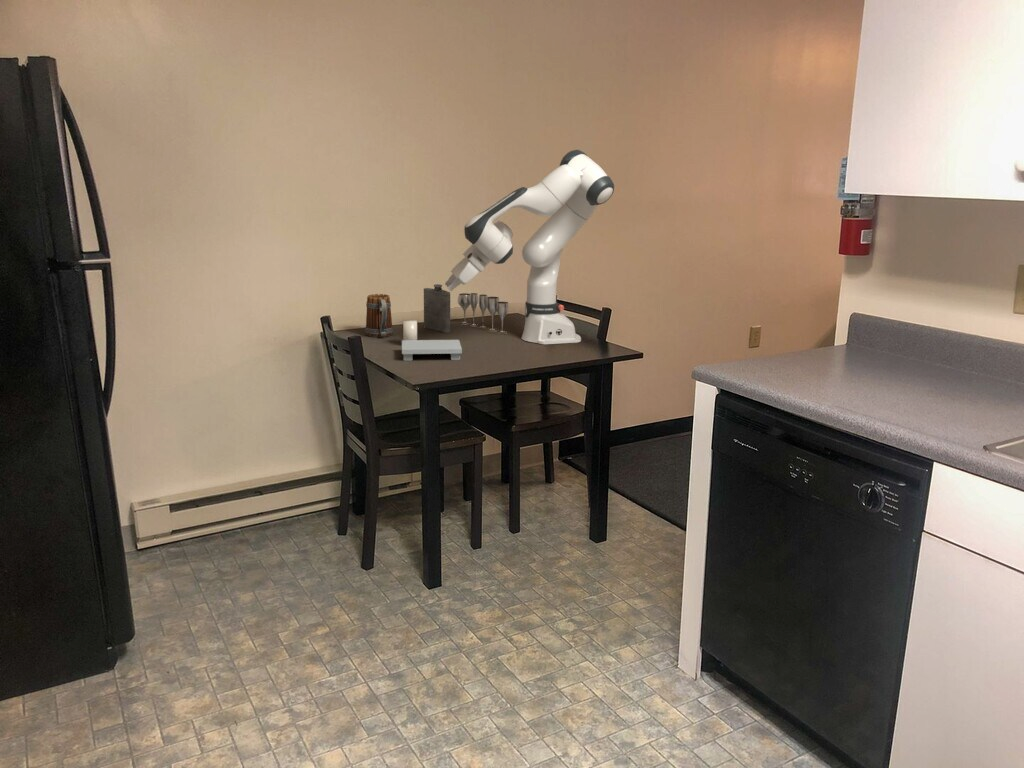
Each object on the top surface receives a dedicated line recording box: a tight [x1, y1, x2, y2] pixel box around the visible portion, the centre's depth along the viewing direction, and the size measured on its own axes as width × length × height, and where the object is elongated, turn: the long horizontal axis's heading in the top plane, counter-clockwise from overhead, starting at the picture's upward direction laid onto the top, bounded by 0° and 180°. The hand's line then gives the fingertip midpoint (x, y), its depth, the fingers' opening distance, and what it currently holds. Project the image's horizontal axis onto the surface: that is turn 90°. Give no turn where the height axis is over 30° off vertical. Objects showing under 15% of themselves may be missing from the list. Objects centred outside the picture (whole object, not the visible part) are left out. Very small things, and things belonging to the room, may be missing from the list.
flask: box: [423, 283, 451, 334], centre depth 316 cm, size 4×14×18 cm, turn 46°
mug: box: [364, 293, 394, 338], centre depth 304 cm, size 16×11×15 cm
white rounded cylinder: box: [402, 319, 418, 340], centre depth 291 cm, size 5×5×9 cm
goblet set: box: [457, 292, 510, 332], centre depth 323 cm, size 28×6×13 cm, turn 44°
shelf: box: [401, 339, 463, 362], centre depth 277 cm, size 20×14×4 cm
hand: (447, 287), depth 286 cm, fingers open, 8 cm apart
